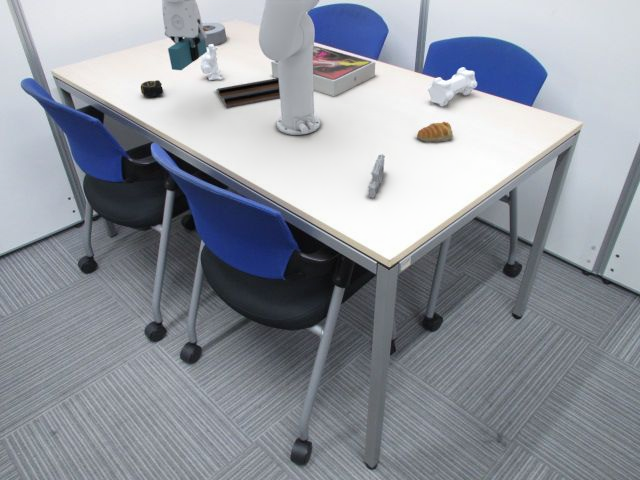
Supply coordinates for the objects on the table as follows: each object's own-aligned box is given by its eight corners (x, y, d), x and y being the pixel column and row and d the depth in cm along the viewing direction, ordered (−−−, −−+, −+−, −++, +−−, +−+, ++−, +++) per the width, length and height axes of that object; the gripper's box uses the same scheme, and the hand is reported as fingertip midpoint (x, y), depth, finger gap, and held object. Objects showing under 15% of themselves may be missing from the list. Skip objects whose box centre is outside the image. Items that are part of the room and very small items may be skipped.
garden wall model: (374, 199, 124) (375, 177, 121) (367, 198, 125) (367, 176, 121) (384, 173, 133) (386, 152, 129) (377, 172, 134) (378, 151, 130)
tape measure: (164, 97, 174) (162, 86, 172) (143, 100, 172) (140, 89, 170) (162, 89, 179) (160, 78, 177) (141, 92, 177) (139, 81, 175)
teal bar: (181, 70, 152) (177, 49, 148) (172, 69, 153) (167, 48, 149) (207, 51, 164) (203, 31, 160) (198, 51, 165) (195, 31, 161)
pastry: (423, 145, 144) (424, 133, 141) (412, 135, 149) (413, 122, 146) (454, 140, 146) (456, 127, 143) (442, 129, 151) (443, 117, 149)
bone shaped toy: (454, 88, 173) (458, 63, 168) (476, 96, 168) (481, 71, 163) (424, 101, 166) (427, 76, 161) (446, 110, 160) (450, 84, 155)
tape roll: (183, 46, 213) (180, 33, 210) (196, 34, 225) (194, 21, 221) (219, 47, 211) (218, 34, 207) (231, 35, 222) (229, 22, 219)
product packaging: (314, 58, 198) (313, 45, 195) (374, 76, 183) (375, 61, 180) (272, 76, 186) (271, 61, 183) (333, 96, 171) (333, 81, 168)
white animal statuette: (228, 78, 185) (223, 43, 177) (211, 84, 181) (206, 48, 174) (216, 72, 190) (210, 38, 182) (199, 77, 186) (193, 42, 179)
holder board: (293, 95, 172) (292, 89, 171) (227, 108, 166) (226, 101, 165) (279, 80, 182) (279, 74, 181) (216, 91, 176) (215, 85, 175)
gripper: (144, -6, 146) (159, 61, 157) (198, -3, 142) (208, 66, 153) (159, -12, 152) (172, 52, 163) (210, -10, 147) (220, 57, 159)
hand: (189, 58), depth 158 cm, fingers closed on teal bar, 3 cm apart
